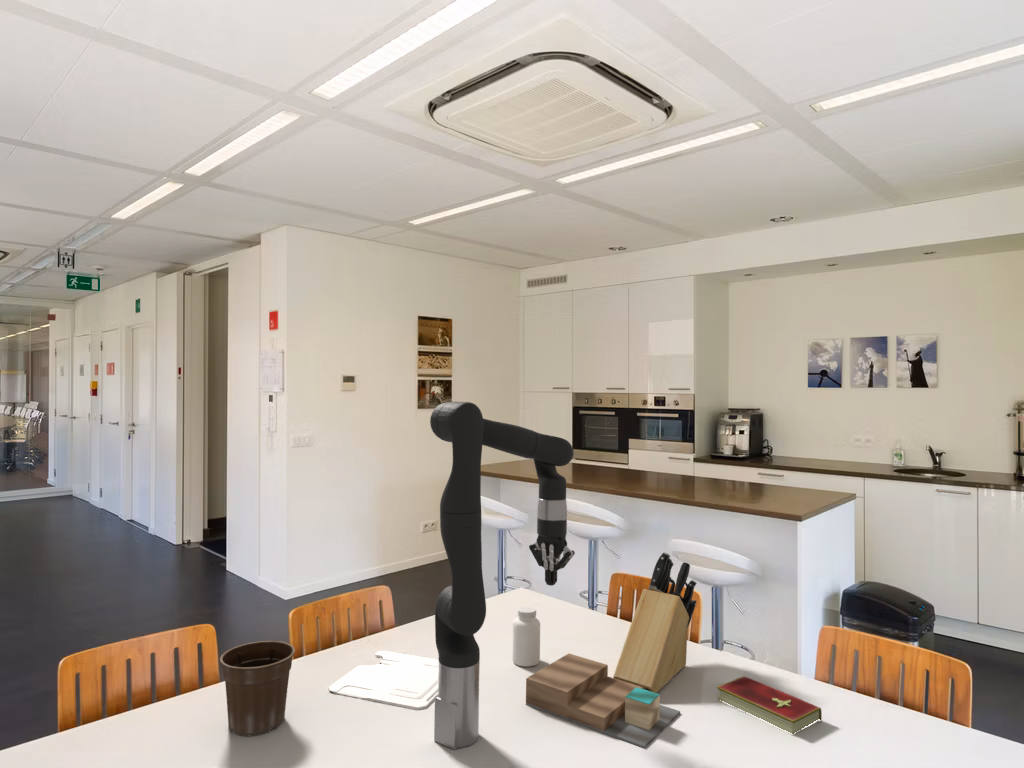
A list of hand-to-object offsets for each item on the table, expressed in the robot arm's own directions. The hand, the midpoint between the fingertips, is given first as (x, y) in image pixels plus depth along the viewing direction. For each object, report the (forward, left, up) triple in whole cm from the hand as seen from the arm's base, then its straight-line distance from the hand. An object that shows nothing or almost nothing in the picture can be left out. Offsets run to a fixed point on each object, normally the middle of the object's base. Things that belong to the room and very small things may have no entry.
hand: (551, 584), depth 165 cm
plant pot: (-52, +47, -29) cm, 76 cm away
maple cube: (+4, -24, -22) cm, 33 cm away
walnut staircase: (+4, -13, -29) cm, 32 cm away
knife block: (+33, -15, -29) cm, 47 cm away
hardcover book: (+29, -45, -30) cm, 61 cm away
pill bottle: (+15, +18, -29) cm, 37 cm away
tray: (-15, +38, -30) cm, 51 cm away
